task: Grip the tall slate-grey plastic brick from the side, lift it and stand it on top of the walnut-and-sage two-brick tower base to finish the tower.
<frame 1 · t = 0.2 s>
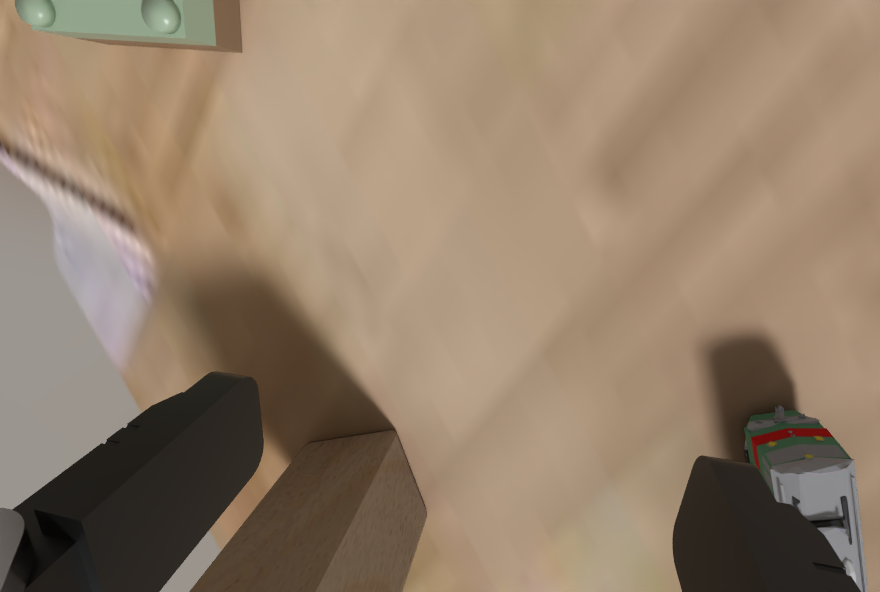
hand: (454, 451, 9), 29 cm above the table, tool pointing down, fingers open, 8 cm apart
wooden block: (368, 476, 47), on the table
toy train: (788, 550, 40), on the table
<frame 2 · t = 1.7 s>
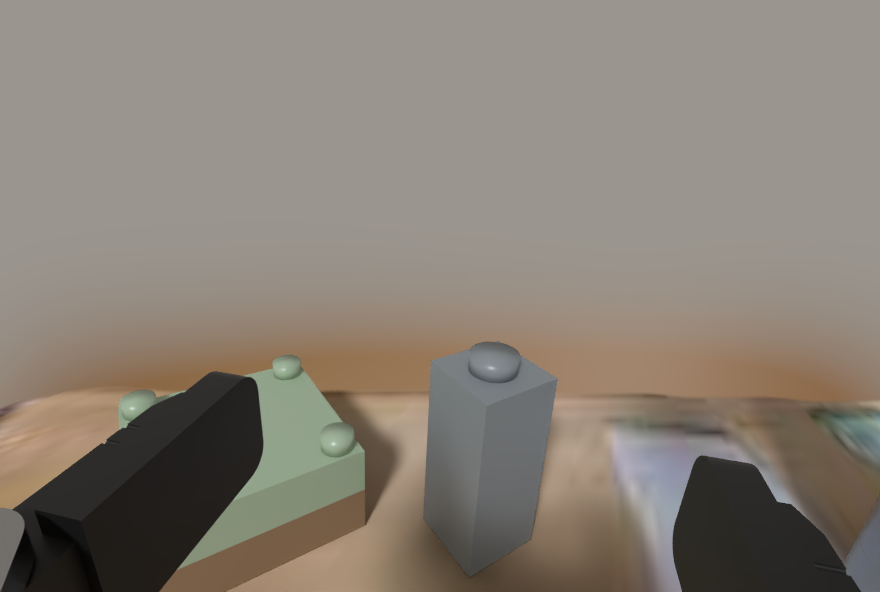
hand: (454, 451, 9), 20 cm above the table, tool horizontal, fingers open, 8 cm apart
tower base: (245, 500, 32), on the table
tall brick: (476, 528, 31), on the table
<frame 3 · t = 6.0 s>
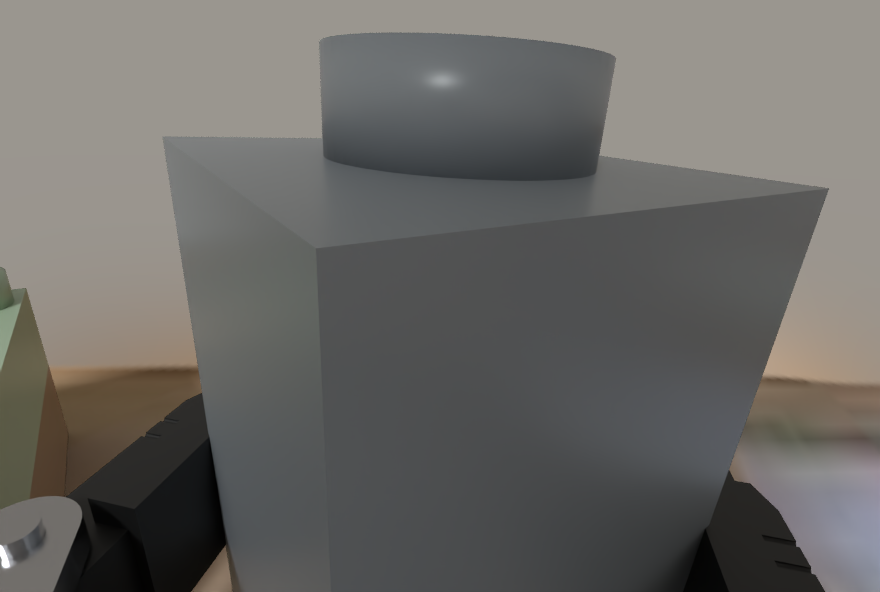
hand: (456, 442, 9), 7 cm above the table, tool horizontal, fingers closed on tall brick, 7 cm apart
when the fingers open (13 cm above the table, at t = 10.6 s): tall brick stays where it is, resting on tower base.
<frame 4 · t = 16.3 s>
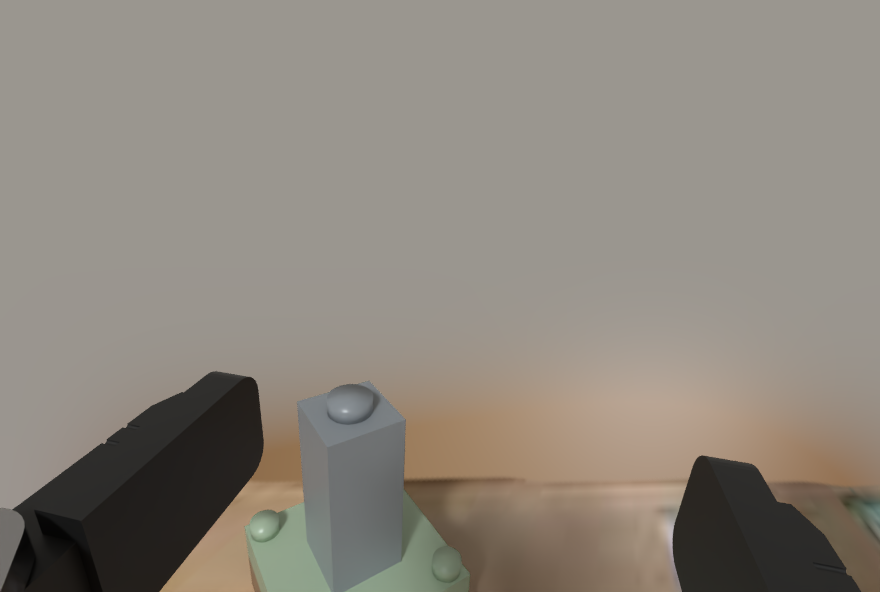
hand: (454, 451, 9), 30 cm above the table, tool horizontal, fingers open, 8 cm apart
tall brick: (353, 550, 34), point 6 cm above the table, touching tower base
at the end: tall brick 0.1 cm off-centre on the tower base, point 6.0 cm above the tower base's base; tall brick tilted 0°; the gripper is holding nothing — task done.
